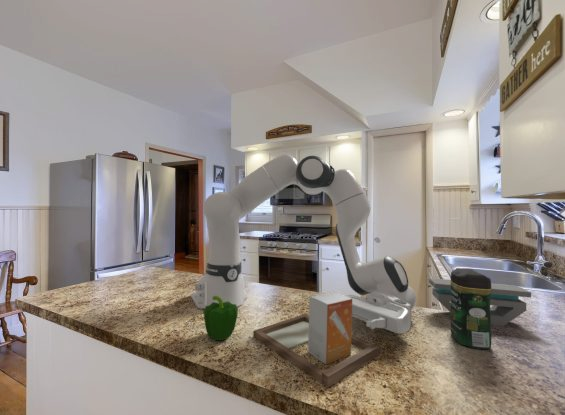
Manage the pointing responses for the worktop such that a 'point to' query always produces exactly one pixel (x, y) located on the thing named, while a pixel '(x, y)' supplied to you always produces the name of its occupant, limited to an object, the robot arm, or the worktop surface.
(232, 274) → the robot arm
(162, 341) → the worktop surface
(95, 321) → the worktop surface
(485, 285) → the coffee jar
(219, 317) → the bell pepper
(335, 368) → the brown wooden frame
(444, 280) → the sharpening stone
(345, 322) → the small box
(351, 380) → the worktop surface
